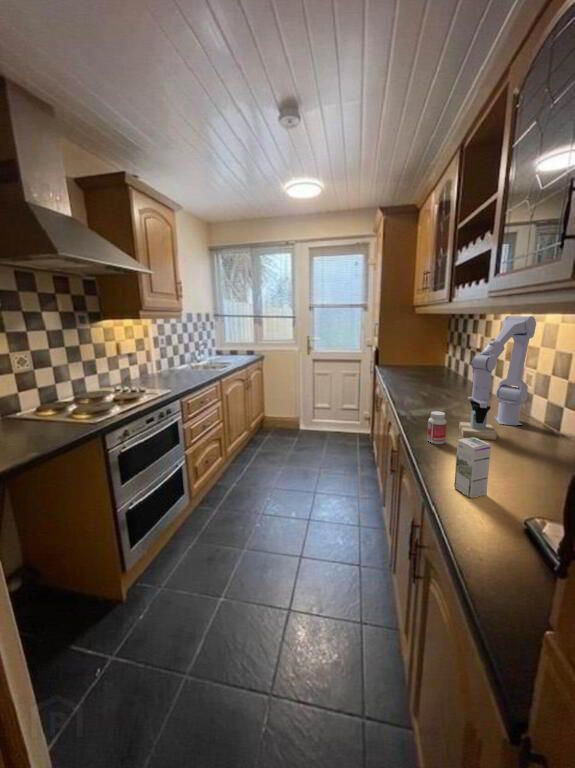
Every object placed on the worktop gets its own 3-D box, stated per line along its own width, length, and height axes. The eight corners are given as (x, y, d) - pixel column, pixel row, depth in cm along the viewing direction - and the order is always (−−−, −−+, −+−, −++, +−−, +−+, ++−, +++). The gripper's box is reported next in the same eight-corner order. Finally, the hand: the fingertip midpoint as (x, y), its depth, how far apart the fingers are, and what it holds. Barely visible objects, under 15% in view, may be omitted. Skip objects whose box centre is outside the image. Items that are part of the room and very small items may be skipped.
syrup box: (487, 495, 89) (492, 443, 86) (469, 499, 87) (474, 447, 84) (470, 485, 94) (474, 436, 91) (452, 488, 92) (456, 438, 89)
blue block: (470, 424, 134) (471, 410, 132) (483, 425, 132) (484, 411, 131) (472, 428, 130) (473, 413, 128) (485, 429, 128) (487, 414, 127)
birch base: (459, 427, 138) (459, 421, 138) (489, 429, 135) (490, 423, 134) (463, 436, 128) (463, 430, 128) (496, 439, 125) (497, 433, 124)
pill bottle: (448, 442, 124) (450, 413, 121) (438, 446, 120) (440, 416, 118) (433, 437, 129) (435, 409, 126) (423, 441, 126) (425, 412, 123)
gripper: (466, 382, 135) (463, 414, 138) (472, 390, 122) (469, 425, 125) (486, 382, 133) (483, 415, 136) (495, 391, 120) (491, 427, 123)
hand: (478, 420), depth 130 cm, fingers open, 5 cm apart
